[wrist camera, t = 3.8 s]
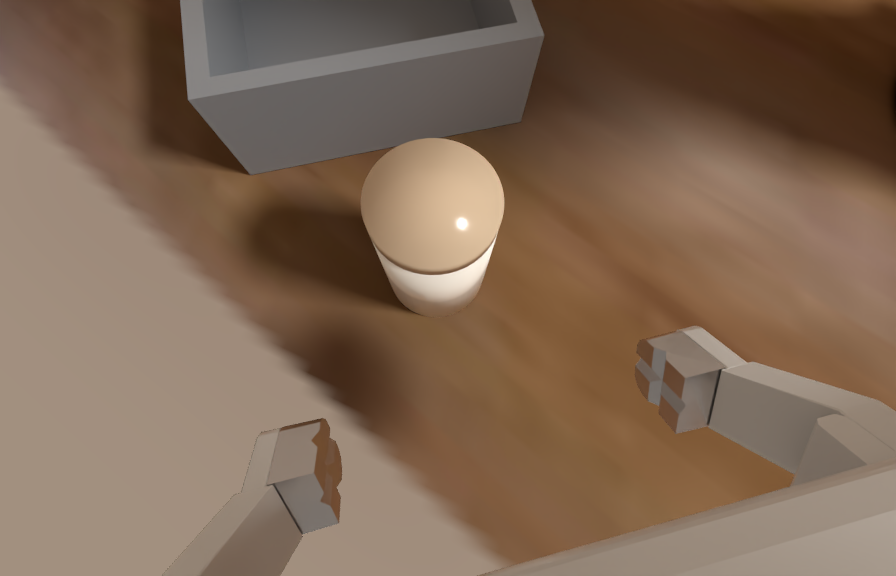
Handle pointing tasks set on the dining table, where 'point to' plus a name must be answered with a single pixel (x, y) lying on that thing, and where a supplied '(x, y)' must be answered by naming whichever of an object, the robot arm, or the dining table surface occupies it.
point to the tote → (354, 72)
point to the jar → (433, 222)
